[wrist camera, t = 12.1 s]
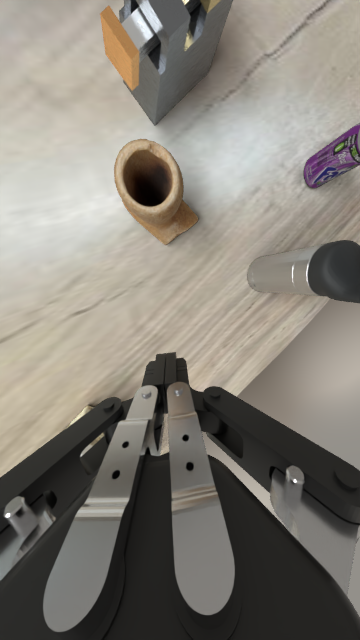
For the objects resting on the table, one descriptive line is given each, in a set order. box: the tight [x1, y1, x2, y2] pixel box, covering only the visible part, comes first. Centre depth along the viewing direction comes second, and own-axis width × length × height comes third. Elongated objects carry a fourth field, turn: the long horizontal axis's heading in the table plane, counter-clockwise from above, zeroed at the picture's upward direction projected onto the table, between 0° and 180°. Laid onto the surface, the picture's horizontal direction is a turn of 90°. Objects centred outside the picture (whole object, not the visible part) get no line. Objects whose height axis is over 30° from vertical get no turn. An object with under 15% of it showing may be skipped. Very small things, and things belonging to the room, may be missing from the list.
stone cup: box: [114, 139, 198, 245], centre depth 31 cm, size 15×12×15 cm
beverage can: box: [304, 123, 360, 188], centre depth 40 cm, size 7×7×12 cm
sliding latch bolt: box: [100, 0, 201, 91], centre depth 24 cm, size 18×5×4 cm, turn 134°
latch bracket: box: [119, 0, 233, 126], centre depth 28 cm, size 16×8×13 cm, turn 134°
